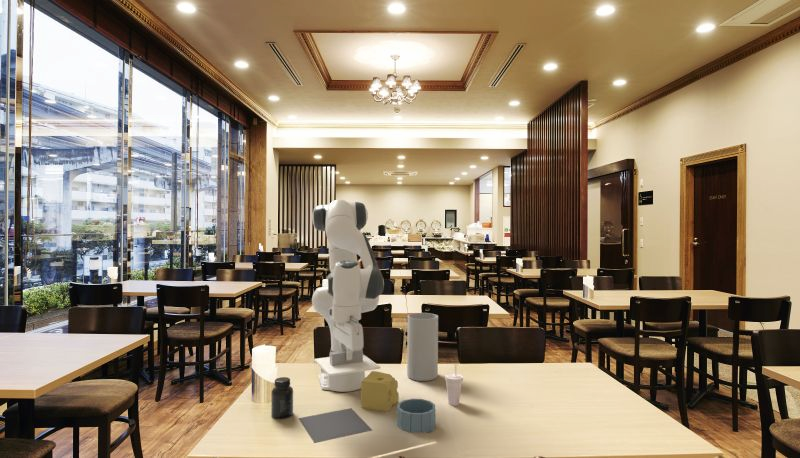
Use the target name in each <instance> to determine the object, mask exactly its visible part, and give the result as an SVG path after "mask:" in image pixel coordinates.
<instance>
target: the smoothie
mask: <svg viewBox="0 0 800 458" xmlns="http://www.w3.org/2000/svg"><path fill="white" fill-rule="evenodd" d="M444 380H445V384H446V394H447V401H448V402H447V403H448V405H449V406H451V407H452V406H453V407H455V406H457V407H458V406H459V405H460V400H461V392H462V386H463V385H462V383H463V381H464V376H463V375H462V374H459V373H457V363H455V364H454V372H453V373H447V374H445V375H444Z"/></svg>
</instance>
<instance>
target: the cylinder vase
mask: <svg viewBox="0 0 800 458" xmlns="http://www.w3.org/2000/svg"><path fill="white" fill-rule="evenodd" d="M406 341H407V342H406V343H407V346H406V347H407V348H406V349H407V351H406V352H407V355H406V356H407V358H406V359H407V360H406V361H407V362H406V363H407V364H406V370H407V371H406V373H407V377H408V378H409V379H410V380H412V381H419V382H429V381H434V380H436V379H437V378H438V374H439V373H438V371H439V370H438V369H439V368H438V367H439V366H438V365H439V362H438V361H439V358H438V357H439V315H438V314H434V313H431V312H429V313H428V312H414V313H409V314H408V315H407V340H406Z"/></svg>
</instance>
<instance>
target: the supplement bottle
mask: <svg viewBox="0 0 800 458" xmlns="http://www.w3.org/2000/svg"><path fill="white" fill-rule="evenodd" d="M270 395H271V398H270V399H271V400H270V401H271V405H270V406H271V411H270V412H271V413H270V414H271V418H272V419H274V420H285V419H289V418H291V417H292V416H293V415H294V389H293V387H292V386H291V378H289V377H288V376H287V377H286V376H284V377H277V378H275V380H274V387H273V388H272V389H271V393H270Z"/></svg>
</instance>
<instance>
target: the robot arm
mask: <svg viewBox="0 0 800 458" xmlns="http://www.w3.org/2000/svg"><path fill="white" fill-rule="evenodd" d="M368 219H369V213H368V209H367V207H366V205H365V204H364V203H363V202H360V201H359V202H358V201H355V202H348V201H346V200H344V199H335V200H333V201H331V202H330V203H329V204H328V203H327V204H319V205H316V206H315V207H314V208H313V211H312V214H311V222H312V225H313V227H314V229H315V230H317V231H319V232H325V234H326V239H327V241H328V259H329V260H328V261H329V271H330V273H329V274H328V275H327V276H326V279H327V285H325V286H321V287H317V288H316V289H315V290H314V292H313V293H312V297H311V303H312V308H313V309H314V311H315V312H316V313H318V314H319V315H320V316H321V317H322V318H324V320H325V321H326V323H327V324H328V327H329V332H330V341H331V342H330V345H331V347H330V350H329V356H328V357H330V352H337V351H345V350H347V351H346V354H345V359H346V360H352V354H353V351H358V350H363V349H364V329H363V325H362V324H361V323H359V321H360V320H361V319H362V314H363V313H368V312H372V311H374V310H375V309H376V308H377V307H378V305H379V300H380V295H382V293H383V292H384V288H385V282H384V277H383V274H382V272H381V270H380V268H379V266H378V263H377V259H376V257H375V255H374V251H373V249H372V246H371V244H370V241H369V239H368V236H367V235H366V234H365V233H363V232H362V231H361V230H362V229H364V227H365V226H366V225H367V222H368ZM357 255H358V256H359V257H360V259H361V262H362V266H363V268H360V264H359V262H358V256H357ZM320 368H321V367H320ZM320 372H321V373H319V374H318V381H319V385H320V388H321V390H323V391H333V392H340V393H341V392H342V393H343V392H344V393H346V392H354V391H358V390H361V382H362V380H363V379H365V378H366V371H361V372H354V373H348V374H341V375H334V376H329V375H328V374H327V373H326V372H325V371H324V370H323V369H322V368H321V369H320Z"/></svg>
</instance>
